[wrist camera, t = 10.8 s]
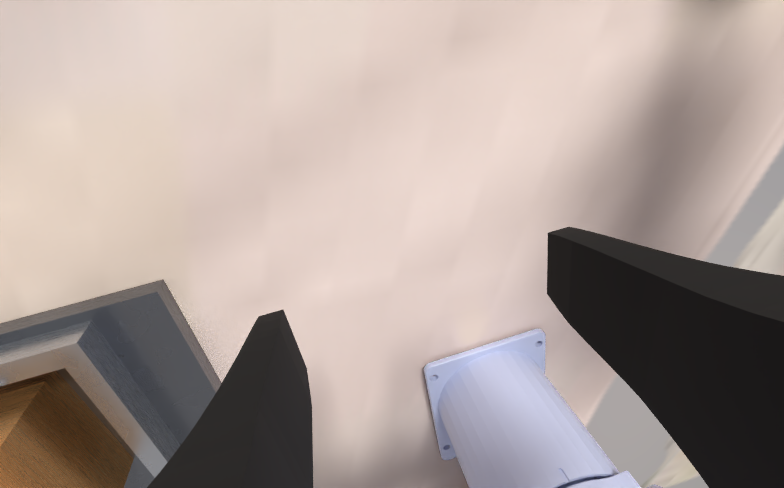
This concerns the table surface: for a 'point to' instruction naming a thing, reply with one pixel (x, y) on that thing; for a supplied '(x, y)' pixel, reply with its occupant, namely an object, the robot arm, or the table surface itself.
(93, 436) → the block
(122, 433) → the plate
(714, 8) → the table surface
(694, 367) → the robot arm
